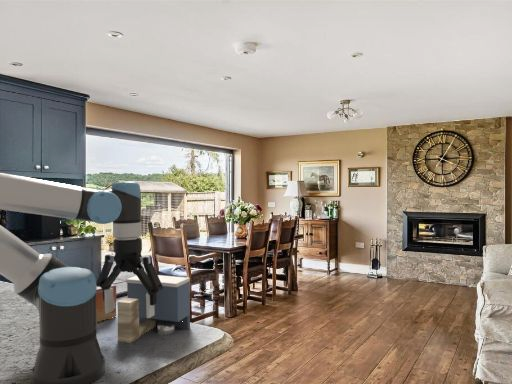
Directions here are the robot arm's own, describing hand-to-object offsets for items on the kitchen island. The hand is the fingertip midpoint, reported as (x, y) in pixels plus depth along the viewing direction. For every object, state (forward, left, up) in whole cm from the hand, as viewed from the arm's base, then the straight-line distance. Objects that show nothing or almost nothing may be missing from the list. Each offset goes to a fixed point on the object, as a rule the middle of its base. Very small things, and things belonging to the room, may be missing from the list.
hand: (129, 314), depth 114 cm
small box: (+12, +20, -7) cm, 24 cm away
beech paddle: (+4, 0, -7) cm, 8 cm away
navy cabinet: (+10, -3, -7) cm, 13 cm away
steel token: (+8, -6, -7) cm, 13 cm away
